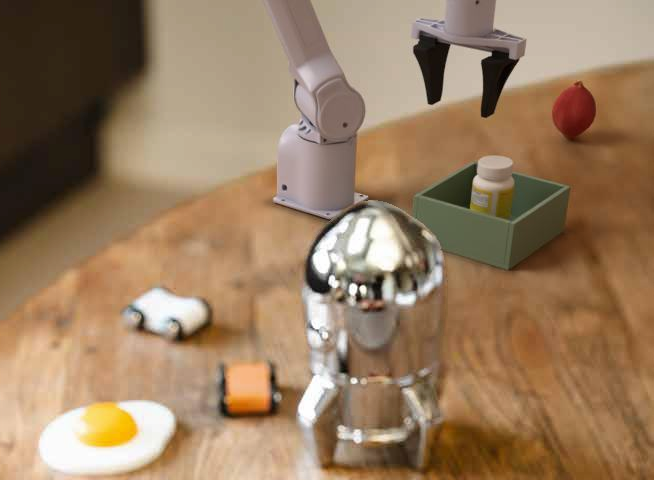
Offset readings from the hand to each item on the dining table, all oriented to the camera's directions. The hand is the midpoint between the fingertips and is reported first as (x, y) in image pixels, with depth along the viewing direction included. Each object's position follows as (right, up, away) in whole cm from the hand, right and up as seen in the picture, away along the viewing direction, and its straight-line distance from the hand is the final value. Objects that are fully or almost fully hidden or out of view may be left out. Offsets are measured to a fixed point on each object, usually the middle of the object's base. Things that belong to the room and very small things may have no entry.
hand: (460, 108), depth 148 cm
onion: (+19, +3, +18) cm, 26 cm away
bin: (+2, -17, -5) cm, 18 cm away
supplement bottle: (+2, -17, -5) cm, 18 cm away
